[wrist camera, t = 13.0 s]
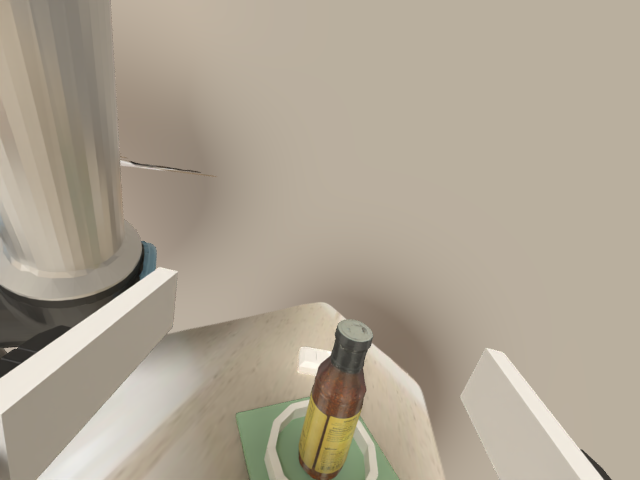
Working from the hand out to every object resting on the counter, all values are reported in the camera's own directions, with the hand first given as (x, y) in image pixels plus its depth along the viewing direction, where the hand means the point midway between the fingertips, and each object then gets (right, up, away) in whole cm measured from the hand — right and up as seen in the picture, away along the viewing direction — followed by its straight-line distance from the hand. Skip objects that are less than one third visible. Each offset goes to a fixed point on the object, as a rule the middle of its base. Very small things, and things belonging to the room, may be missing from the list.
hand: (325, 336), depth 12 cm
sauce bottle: (0, -24, +26) cm, 35 cm away
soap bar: (0, -20, +42) cm, 47 cm away
